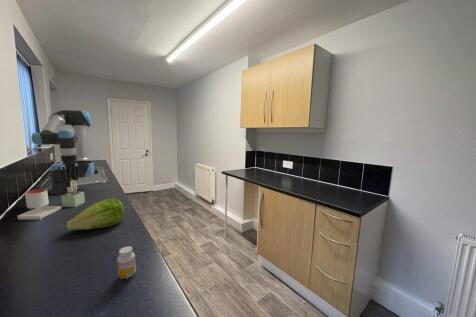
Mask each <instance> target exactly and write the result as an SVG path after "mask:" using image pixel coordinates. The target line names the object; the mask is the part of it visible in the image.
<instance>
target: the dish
mask: <svg viewBox="0 0 476 317" xmlns="http://www.w3.org/2000/svg"><path fill="white" fill-rule="evenodd" d="M62 209H63V207H62V205H46V206H40V207H38V208H32V209H29V210H28V211H25V212H24V213H21V214H19V215H17V220H18V221H41V220H43V219H45V217H47V216H49V215H51V214H53V213H55V212H58V211H60V210H62Z"/></svg>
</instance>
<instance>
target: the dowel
mask: <svg viewBox="0 0 476 317" xmlns="http://www.w3.org/2000/svg"><path fill="white" fill-rule="evenodd" d="M70 182H72V188H73V192H70V196H74V195H76V192H77V190H76V191H75V181H74V180H71V181H70Z"/></svg>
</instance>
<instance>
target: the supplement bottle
mask: <svg viewBox="0 0 476 317" xmlns="http://www.w3.org/2000/svg"><path fill="white" fill-rule="evenodd" d="M118 254H119V255H118V257H117V273H118V278H119V277H121V278H127V277H130V276H132V275H134V274H135V272H136V273H137V264H136V263H137V262H136V254H135V253H134V252H133V247H132V246H130V245H129V246H123V247H122V248H120V249H119V252H118ZM135 275H136V274H135ZM135 275H134V276H135Z"/></svg>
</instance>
